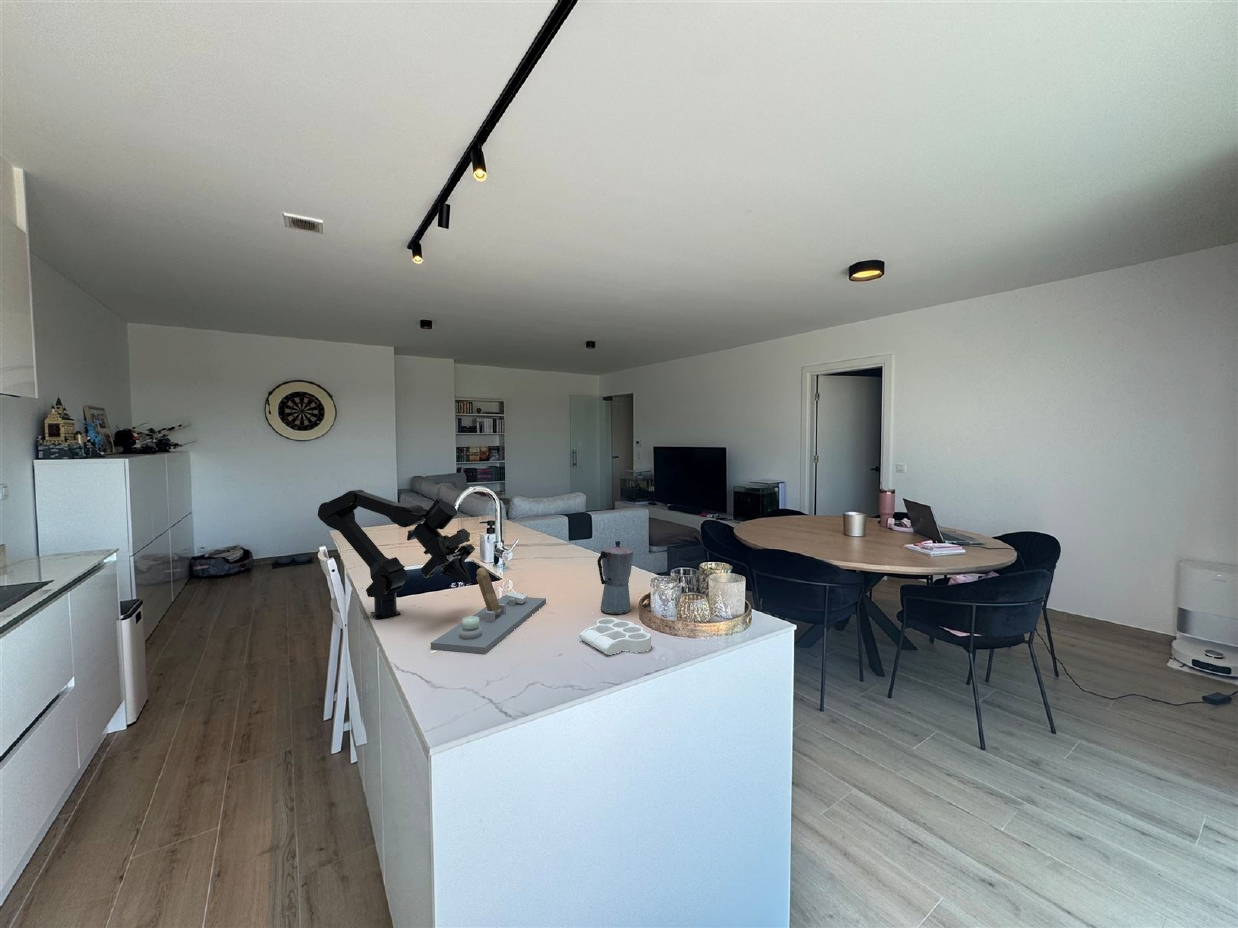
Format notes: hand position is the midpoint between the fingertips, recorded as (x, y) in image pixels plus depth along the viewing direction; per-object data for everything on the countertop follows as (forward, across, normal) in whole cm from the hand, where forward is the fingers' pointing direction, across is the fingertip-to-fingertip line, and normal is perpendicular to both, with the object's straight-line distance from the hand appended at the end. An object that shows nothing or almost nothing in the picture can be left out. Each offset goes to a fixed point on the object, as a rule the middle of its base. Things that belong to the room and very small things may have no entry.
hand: (469, 582), depth 134 cm
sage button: (+10, -13, 0) cm, 17 cm away
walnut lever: (+11, 0, 0) cm, 11 cm away
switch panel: (+13, 0, +2) cm, 13 cm away
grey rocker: (+11, +13, 0) cm, 17 cm away
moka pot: (+34, +16, -18) cm, 42 cm away
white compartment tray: (+38, -6, -22) cm, 44 cm away
